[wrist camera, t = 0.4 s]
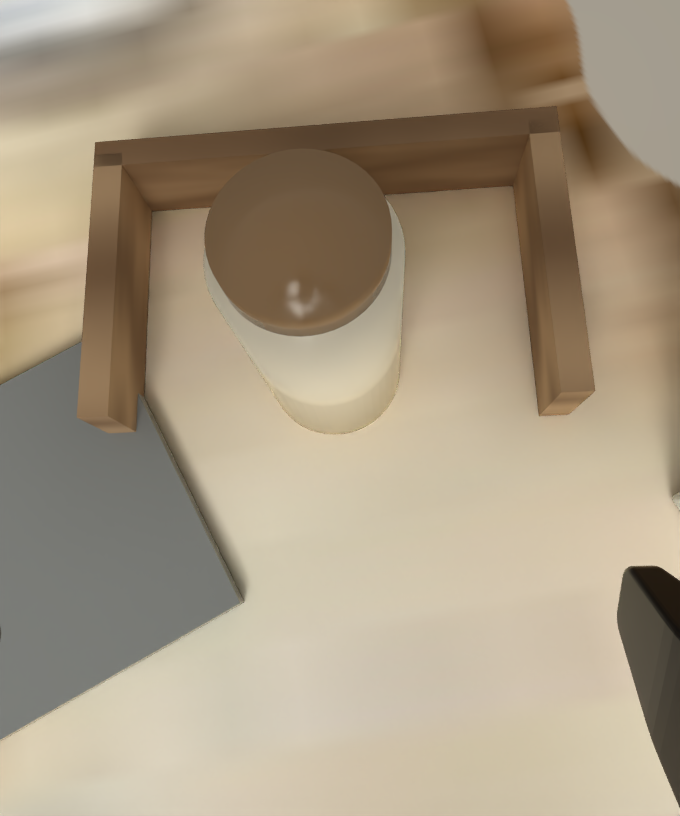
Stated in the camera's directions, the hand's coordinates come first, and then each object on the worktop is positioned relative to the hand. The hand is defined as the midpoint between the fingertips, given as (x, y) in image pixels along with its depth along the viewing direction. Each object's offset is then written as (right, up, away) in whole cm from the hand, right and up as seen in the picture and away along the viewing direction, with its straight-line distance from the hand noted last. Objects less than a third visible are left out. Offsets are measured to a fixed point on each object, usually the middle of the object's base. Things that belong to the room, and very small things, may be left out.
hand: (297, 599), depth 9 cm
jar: (0, +4, +14) cm, 15 cm away
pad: (-10, -2, +14) cm, 17 cm away
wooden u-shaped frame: (0, +7, +15) cm, 17 cm away
